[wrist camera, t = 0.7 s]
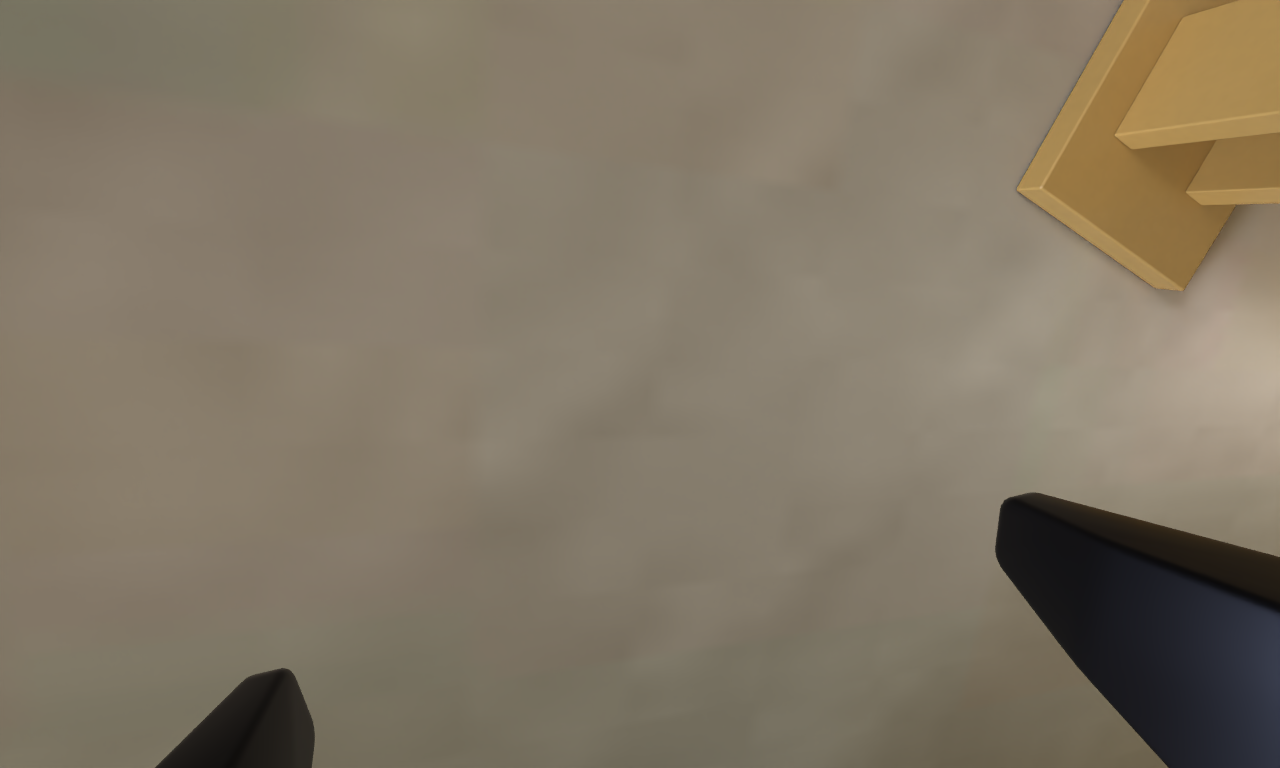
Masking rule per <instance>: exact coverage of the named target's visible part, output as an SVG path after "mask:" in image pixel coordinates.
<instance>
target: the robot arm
mask: <svg viewBox="0 0 1280 768" xmlns="http://www.w3.org/2000/svg"><path fill="white" fill-rule="evenodd" d="M995 551H996V557H997V560H998V562H999V564H1000V566H1001V568H1002V569H1003V571H1004V572H1005V573H1006V575H1007V576H1008V577H1009V578H1010V580H1011V581H1012V582H1013V584H1014V585H1015V586H1016V588H1017V589H1018V590H1019V592H1020V593H1021V594H1022V595H1023V597H1024V598H1025V599H1026V601H1027V602H1028V603H1029V605H1030V606H1031V607H1032V609H1033V610H1034V611H1035V613H1036V614H1037V615H1038V616H1039V618H1040V619H1041V620H1042V622H1043V623H1044V624H1045V626H1046V627H1047V628H1048V630H1049V631H1050V632H1051V634H1052V635H1053V636H1054V637H1055V639H1056V640H1057V641H1058V643H1059V644H1060V645H1061V647H1062V648H1063V649H1064V650H1065V652H1066V653H1067V654H1068V655H1069V657H1070V658H1071V659H1072V660H1073V662H1074V663H1075V664H1076V665H1077V667H1078V668H1079V669H1080V670H1081V671H1082V672H1083V674H1084V675H1085V676H1086V677H1087V678H1088V679H1089V680H1090V682H1091V683H1092V684H1093V685H1094V686H1095V687H1096V688H1097V689H1098V690H1099V692H1100V693H1101V694H1102V695H1103V696H1104V697H1105V698H1106V699H1107V700H1108V701H1109V703H1110V704H1111V705H1112V706H1113V707H1114V708H1115V709H1116V710H1117V711H1118V712H1119V714H1120V715H1121V716H1122V717H1123V718H1124V719H1125V720H1126V721H1127V722H1128V723H1129V725H1130V726H1131V727H1132V728H1133V729H1134V730H1135V731H1136V732H1137V733H1138V734H1139V736H1140V737H1141V738H1142V739H1143V740H1144V741H1145V742H1146V743H1147V744H1148V745H1149V747H1150V748H1151V749H1152V750H1153V751H1154V752H1155V753H1156V754H1157V755H1158V756H1159V758H1160V759H1161V760H1162V761H1163V762H1164V763H1165V764H1166V765H1167V766H1168V767H1169V768H1280V557H1277V556H1274V555H1270V554H1266V553H1262V552H1258V551H1255V550H1251V549H1247V548H1243V547H1240V546H1236V545H1232V544H1228V543H1225V542H1221V541H1217V540H1213V539H1210V538H1206V537H1202V536H1198V535H1195V534H1191V533H1187V532H1183V531H1180V530H1176V529H1172V528H1168V527H1165V526H1161V525H1157V524H1153V523H1150V522H1146V521H1142V520H1138V519H1135V518H1131V517H1127V516H1123V515H1119V514H1116V513H1112V512H1108V511H1104V510H1101V509H1097V508H1093V507H1089V506H1086V505H1082V504H1078V503H1074V502H1071V501H1067V500H1063V499H1059V498H1056V497H1052V496H1048V495H1044V494H1041V493H1026V494H1022V495H1018V496H1014V497H1010V498H1008V499H1006V500H1004V502H1003V504H1002V505H1001V508H1000V515H999V522H998V530H997V538H996V546H995ZM314 742H315V733H314V725H313V721H312V718H311V715H310V713H309V710H308V708H307V705H306V703H305V700H304V697H303V695H302V692H301V690H300V687H299V685H298V682H297V680H296V678H295V676H294V674H293V673H292V672H291V671H290V670H289V669H285V668H281V669H277V670H272V671H268V672H264V673H260V674H255V675H252V676H250V677H248V678H246V679H245V680H244V681H243V682H241V683H240V684H239V685H238V686H237V687H236V688H235V689H234V690H233V691H232V692H231V693H230V694H229V695H228V696H227V697H226V698H225V699H224V700H223V701H222V702H221V703H220V704H219V705H218V706H217V707H216V708H215V709H214V710H213V711H212V712H211V713H210V714H209V715H208V716H207V717H206V718H205V719H204V720H203V721H202V722H201V723H200V724H199V725H198V726H197V727H196V728H195V729H194V730H193V731H192V732H191V733H190V734H189V735H188V736H187V737H186V738H185V739H184V740H183V741H182V742H181V743H180V744H179V745H178V746H177V747H176V748H175V749H174V750H173V751H172V752H171V753H169V754H168V755H167V756H166V757H165V758H164V759H163V760H162V761H161V762H160V763H159V764H158V765H157V766H156V767H155V768H312V761H313V752H314Z"/></svg>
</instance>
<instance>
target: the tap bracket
mask: <svg viewBox="0 0 1280 768" xmlns="http://www.w3.org/2000/svg"><path fill="white" fill-rule="evenodd" d="M1017 191H1018V192H1020V193H1021V194H1023V195H1024V196H1025V197H1027V198H1028V199H1030V200H1031V201H1032V202H1034V203H1035V204H1037V205H1038V206H1040V207H1041V208H1042V209H1044V210H1045V211H1047V212H1048V213H1049V214H1051V215H1052V216H1054V217H1055V218H1056V219H1058V220H1059V221H1061V222H1062V223H1064V224H1065V225H1066V226H1068V227H1069V228H1071V229H1072V230H1073V231H1075V232H1076V233H1078V234H1079V235H1081V236H1082V237H1083V238H1085V239H1086V240H1088V241H1089V242H1090V243H1092V244H1093V245H1095V246H1096V247H1097V248H1099V249H1100V250H1102V251H1103V252H1105V253H1106V254H1107V255H1109V256H1110V257H1112V258H1113V259H1114V260H1116V261H1117V262H1119V263H1120V264H1122V265H1123V266H1124V267H1126V268H1127V269H1129V270H1130V271H1131V272H1133V273H1134V274H1136V275H1137V276H1138V277H1140V278H1141V279H1143V280H1144V281H1146V282H1147V283H1148V284H1150V285H1151V286H1153V287H1154V288H1158V289H1168V290H1179V291H1183V290H1184V289H1185V288H1186V286H1187V285H1188V283H1189V281H1190V280H1191V278H1192V276H1193V275H1194V273H1195V272H1196V270H1197V268H1198V267H1199V265H1200V263H1201V262H1202V260H1203V259H1204V257H1205V255H1206V254H1207V252H1208V250H1209V249H1210V247H1211V245H1212V244H1213V242H1214V241H1215V239H1216V237H1217V236H1218V234H1219V232H1220V231H1221V229H1222V228H1223V226H1224V224H1225V223H1226V221H1227V219H1228V218H1229V216H1230V215H1231V213H1232V211H1233V210H1234V208H1235V206H1236V205H1237V204H1270V203H1280V0H1124V1H1123V2H1122V4H1121V6H1120V8H1119V9H1118V11H1117V13H1116V15H1115V17H1114V18H1113V20H1112V22H1111V24H1110V25H1109V27H1108V29H1107V31H1106V32H1105V34H1104V36H1103V38H1102V39H1101V41H1100V43H1099V45H1098V46H1097V48H1096V50H1095V52H1094V53H1093V55H1092V57H1091V59H1090V60H1089V62H1088V64H1087V66H1086V67H1085V69H1084V71H1083V73H1082V75H1081V76H1080V78H1079V80H1078V82H1077V83H1076V85H1075V87H1074V89H1073V90H1072V92H1071V94H1070V96H1069V97H1068V99H1067V101H1066V103H1065V104H1064V106H1063V108H1062V110H1061V111H1060V113H1059V115H1058V117H1057V118H1056V120H1055V122H1054V124H1053V125H1052V127H1051V129H1050V131H1049V133H1048V134H1047V136H1046V138H1045V140H1044V141H1043V143H1042V145H1041V147H1040V148H1039V150H1038V152H1037V154H1036V155H1035V157H1034V159H1033V161H1032V162H1031V164H1030V166H1029V168H1028V169H1027V171H1026V173H1025V175H1024V176H1023V178H1022V180H1021V182H1020V183H1019V185H1018V187H1017Z"/></svg>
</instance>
